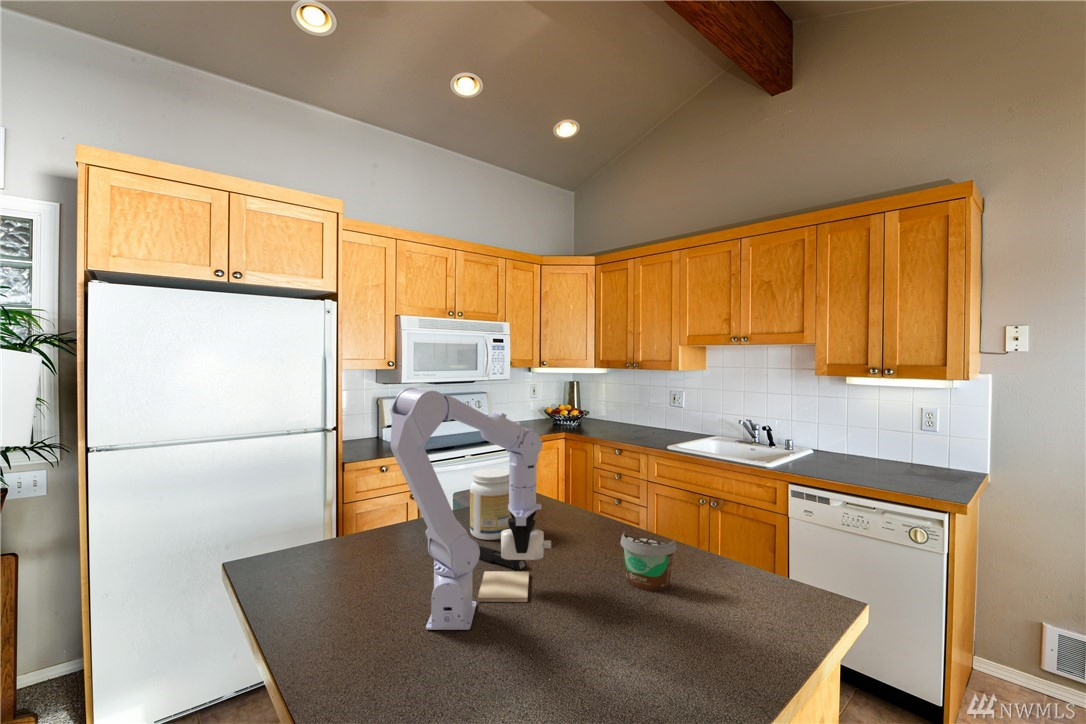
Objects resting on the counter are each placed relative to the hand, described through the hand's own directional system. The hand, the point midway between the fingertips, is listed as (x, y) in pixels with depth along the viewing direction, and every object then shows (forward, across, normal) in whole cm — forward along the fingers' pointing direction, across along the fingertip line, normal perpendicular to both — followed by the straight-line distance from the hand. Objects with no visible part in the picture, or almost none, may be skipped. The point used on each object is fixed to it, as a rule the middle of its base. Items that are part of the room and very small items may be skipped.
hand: (522, 548), depth 104 cm
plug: (+2, 0, 0) cm, 2 cm away
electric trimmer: (+9, +13, +6) cm, 17 cm away
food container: (+9, +1, -26) cm, 28 cm away
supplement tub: (+9, +32, +10) cm, 35 cm away
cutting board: (+9, 0, +4) cm, 9 cm away
